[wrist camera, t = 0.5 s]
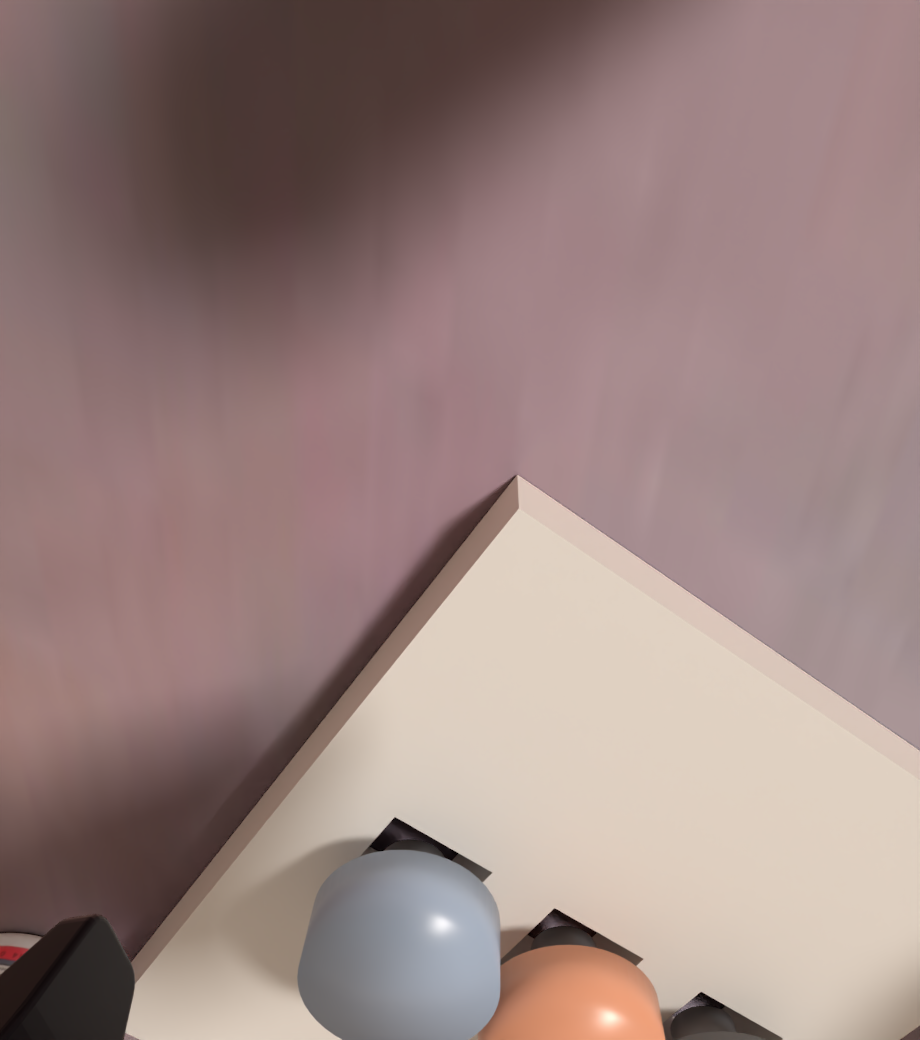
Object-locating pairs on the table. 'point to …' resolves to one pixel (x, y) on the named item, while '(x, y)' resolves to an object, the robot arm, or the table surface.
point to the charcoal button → (706, 1025)
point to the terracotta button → (573, 994)
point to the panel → (581, 802)
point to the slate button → (402, 948)
